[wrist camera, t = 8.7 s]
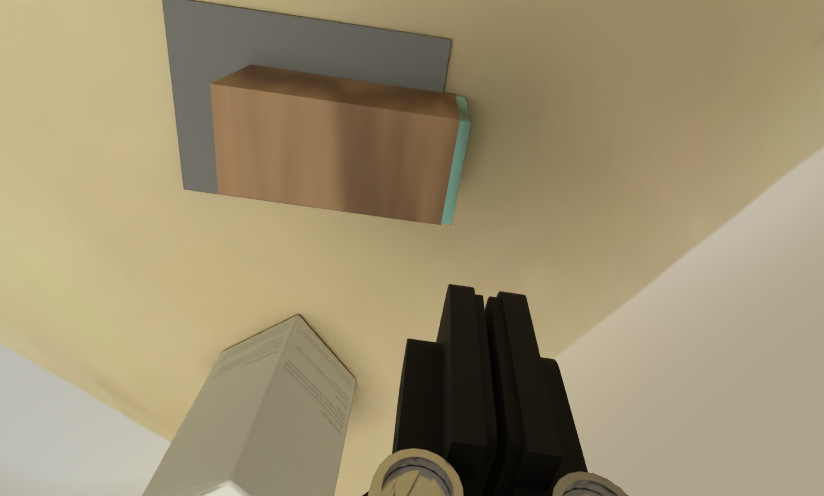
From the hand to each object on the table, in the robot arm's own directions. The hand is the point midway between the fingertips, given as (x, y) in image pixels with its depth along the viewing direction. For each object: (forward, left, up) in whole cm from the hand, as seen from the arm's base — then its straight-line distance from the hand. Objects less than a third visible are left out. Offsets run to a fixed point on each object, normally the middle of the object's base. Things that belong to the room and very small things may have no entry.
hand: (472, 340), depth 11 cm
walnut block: (0, +1, -14) cm, 14 cm away
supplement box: (+20, +7, -18) cm, 27 cm away
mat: (+6, -5, -17) cm, 19 cm away
